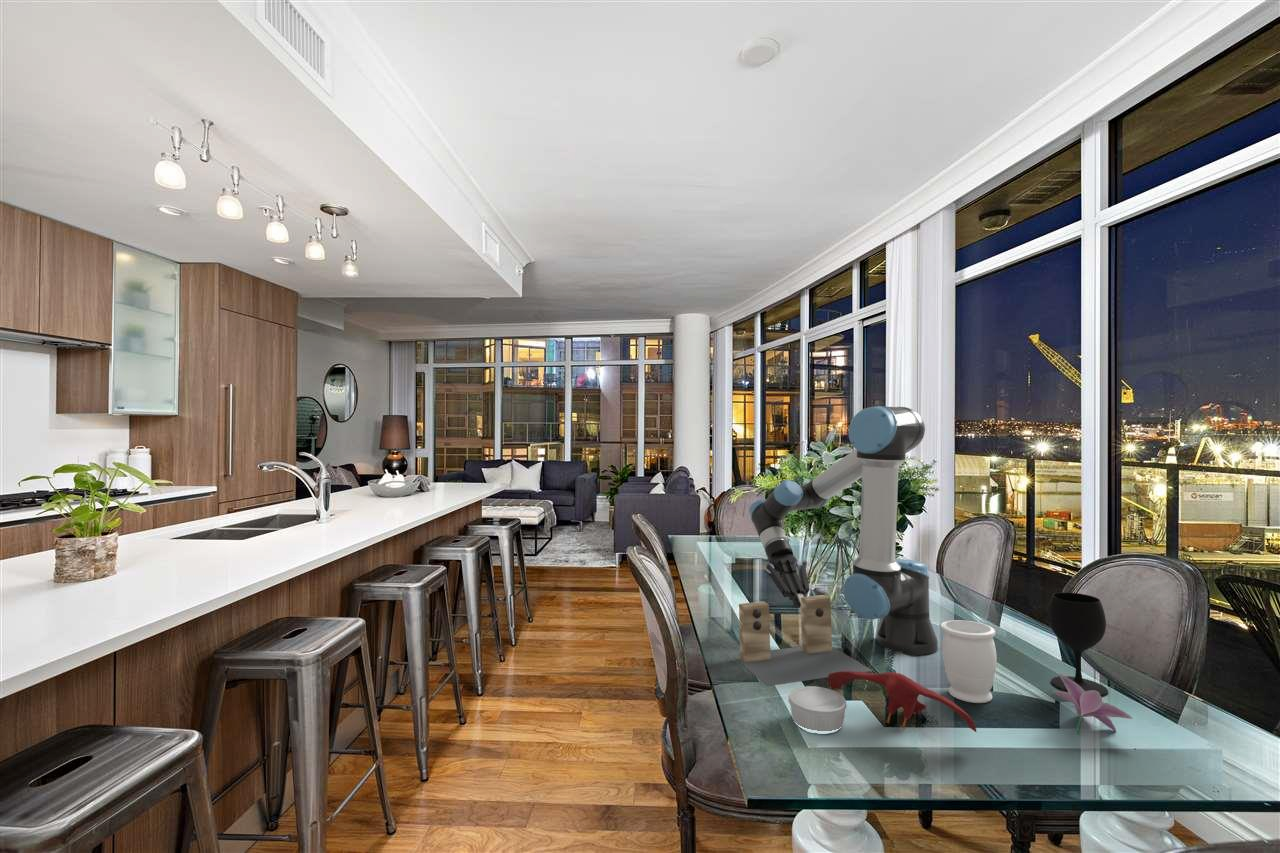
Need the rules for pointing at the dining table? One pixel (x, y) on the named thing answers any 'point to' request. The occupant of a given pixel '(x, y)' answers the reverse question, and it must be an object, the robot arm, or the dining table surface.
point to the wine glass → (1077, 631)
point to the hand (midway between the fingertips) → (807, 617)
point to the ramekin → (817, 708)
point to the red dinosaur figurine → (898, 692)
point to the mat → (800, 665)
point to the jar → (969, 659)
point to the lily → (1089, 704)
